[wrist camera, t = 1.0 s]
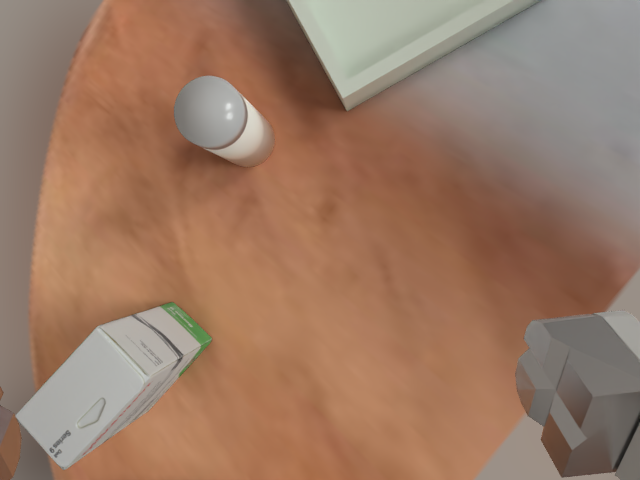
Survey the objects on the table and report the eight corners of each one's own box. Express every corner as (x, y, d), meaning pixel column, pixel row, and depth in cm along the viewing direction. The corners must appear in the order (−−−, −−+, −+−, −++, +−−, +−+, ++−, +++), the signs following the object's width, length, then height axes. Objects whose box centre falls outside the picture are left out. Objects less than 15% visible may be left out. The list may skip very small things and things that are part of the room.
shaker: (258, 102, 44) (221, 62, 34) (284, 150, 44) (254, 123, 34) (212, 129, 45) (162, 98, 35) (237, 177, 44) (194, 159, 34)
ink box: (173, 298, 45) (97, 319, 33) (215, 340, 45) (154, 377, 33) (105, 372, 46) (7, 418, 34) (146, 414, 45) (62, 476, 34)
